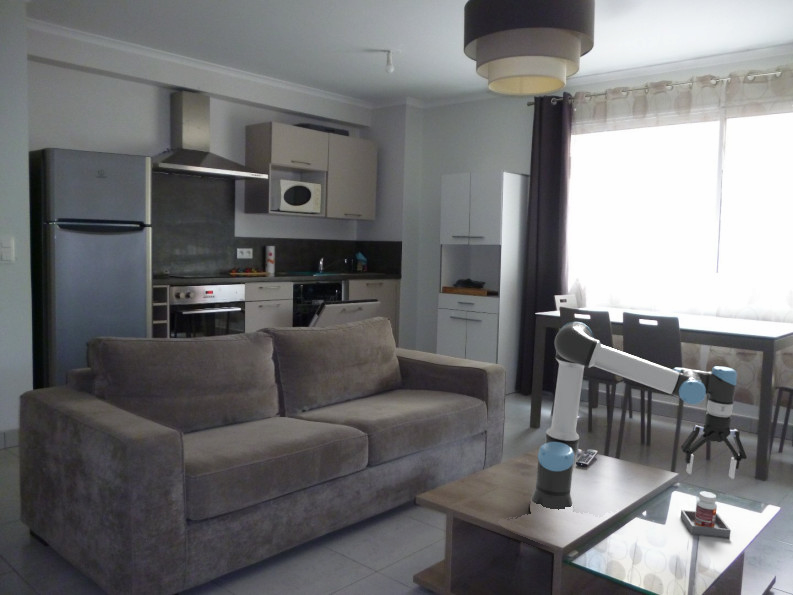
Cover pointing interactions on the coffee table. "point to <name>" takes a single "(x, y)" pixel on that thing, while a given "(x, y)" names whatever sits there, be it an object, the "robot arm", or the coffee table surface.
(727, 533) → the tray
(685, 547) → the coffee table surface
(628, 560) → the coffee table surface
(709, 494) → the pill bottle
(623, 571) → the coffee table surface
